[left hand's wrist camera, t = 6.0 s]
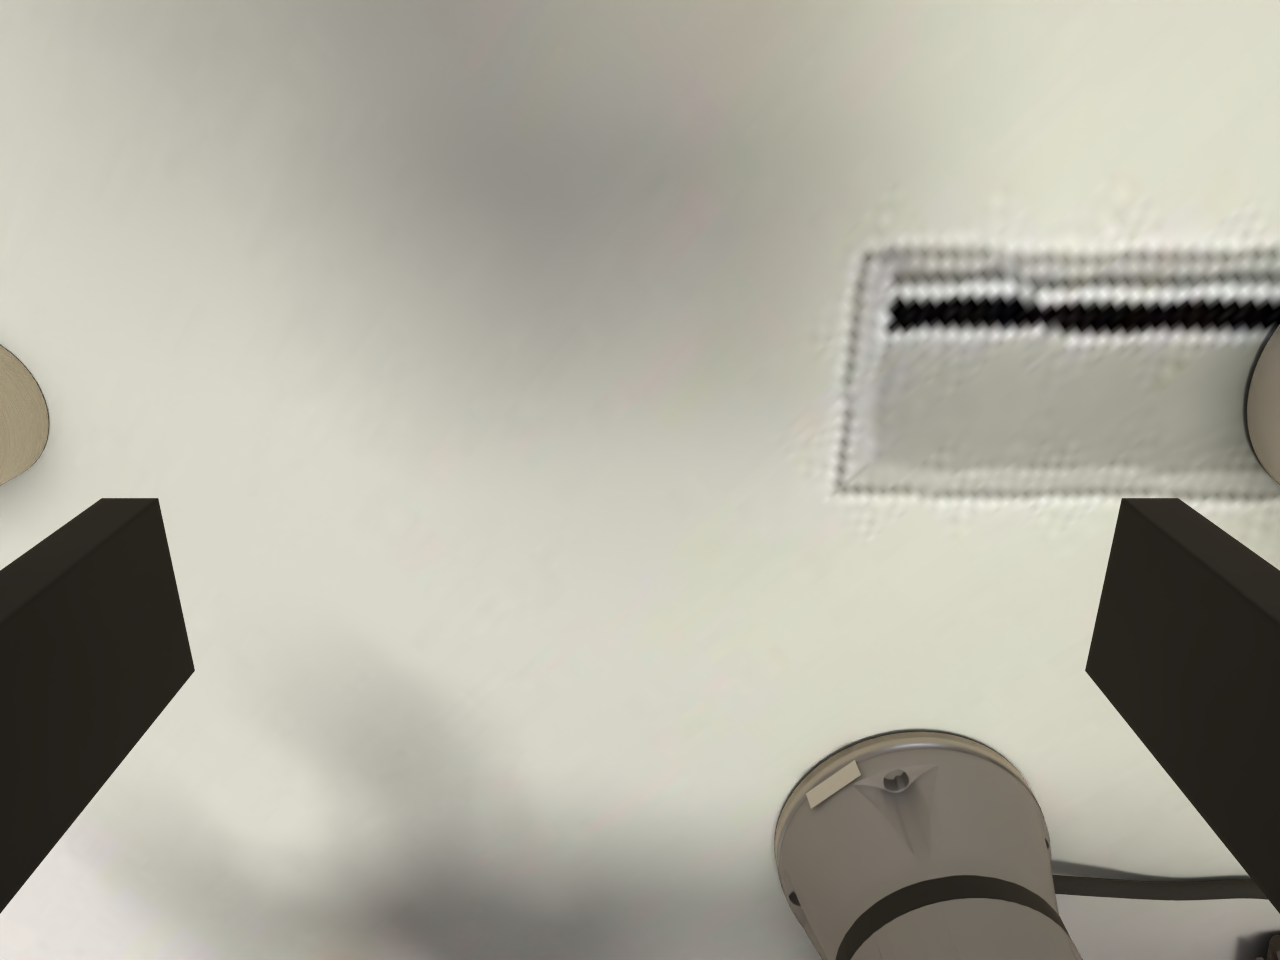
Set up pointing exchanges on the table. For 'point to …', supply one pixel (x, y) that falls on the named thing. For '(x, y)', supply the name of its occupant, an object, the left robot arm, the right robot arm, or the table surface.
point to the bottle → (19, 418)
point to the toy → (1273, 949)
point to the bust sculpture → (1266, 407)
